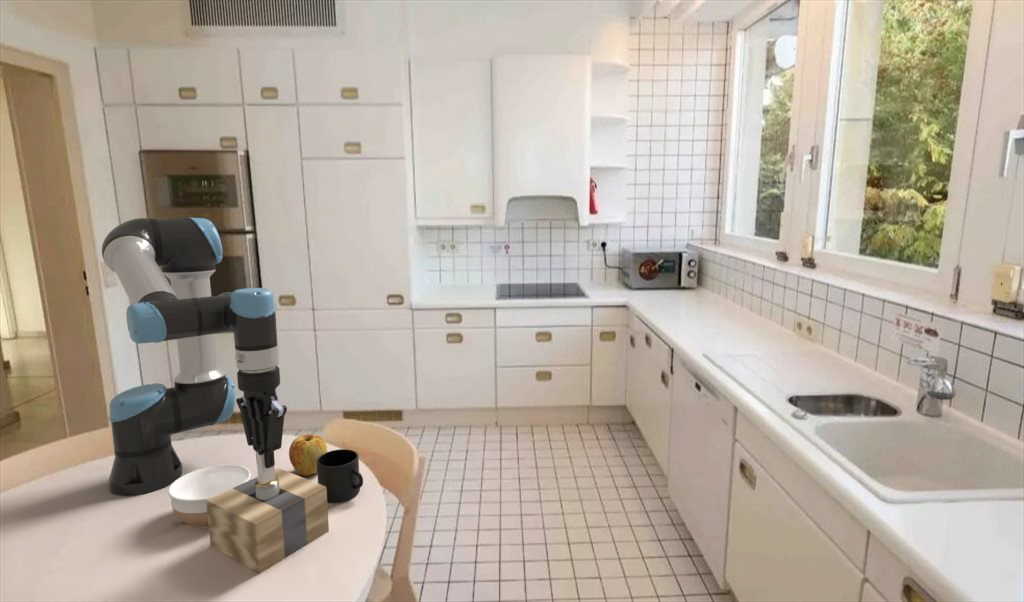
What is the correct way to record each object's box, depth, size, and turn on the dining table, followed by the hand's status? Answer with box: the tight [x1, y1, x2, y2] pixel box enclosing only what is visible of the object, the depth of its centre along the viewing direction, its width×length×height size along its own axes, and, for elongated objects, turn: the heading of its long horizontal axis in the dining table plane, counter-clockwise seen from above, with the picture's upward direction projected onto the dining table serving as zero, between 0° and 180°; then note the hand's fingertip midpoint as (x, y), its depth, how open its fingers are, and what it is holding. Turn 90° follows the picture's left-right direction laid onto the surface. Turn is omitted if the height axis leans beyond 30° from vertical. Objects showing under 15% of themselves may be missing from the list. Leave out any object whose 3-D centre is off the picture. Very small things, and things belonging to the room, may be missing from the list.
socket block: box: [206, 467, 330, 574], centre depth 110 cm, size 16×16×10 cm
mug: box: [316, 448, 364, 504], centre depth 128 cm, size 9×12×9 cm
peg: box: [255, 477, 280, 502], centre depth 110 cm, size 4×4×9 cm
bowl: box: [167, 464, 252, 529], centre depth 119 cm, size 16×16×8 cm
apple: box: [288, 434, 328, 477], centre depth 138 cm, size 9×9×10 cm
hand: (267, 480), depth 109 cm, fingers closed
